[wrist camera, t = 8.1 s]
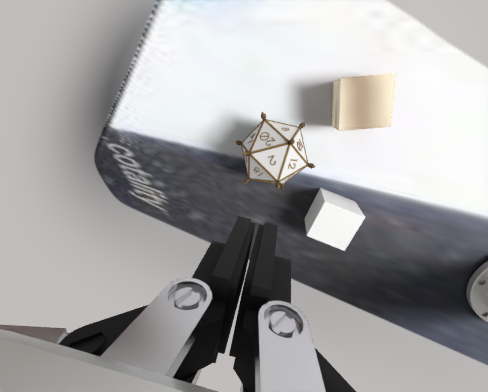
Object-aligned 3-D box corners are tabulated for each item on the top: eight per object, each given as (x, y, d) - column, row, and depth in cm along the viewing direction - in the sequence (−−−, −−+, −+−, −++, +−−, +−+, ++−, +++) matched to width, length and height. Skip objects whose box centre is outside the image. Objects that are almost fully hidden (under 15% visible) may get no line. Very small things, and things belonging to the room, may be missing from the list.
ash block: (378, 76, 29) (396, 72, 24) (375, 122, 31) (390, 126, 26) (332, 82, 30) (340, 78, 25) (331, 126, 32) (339, 130, 27)
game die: (262, 145, 37) (207, 143, 30) (306, 104, 32) (249, 89, 25) (290, 199, 35) (237, 210, 28) (342, 164, 29) (291, 167, 22)
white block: (354, 201, 34) (365, 217, 30) (337, 231, 36) (344, 250, 32) (320, 187, 34) (325, 201, 30) (304, 218, 36) (306, 235, 32)
